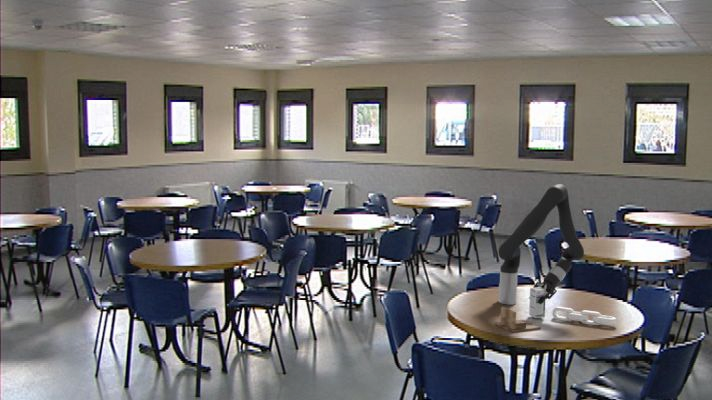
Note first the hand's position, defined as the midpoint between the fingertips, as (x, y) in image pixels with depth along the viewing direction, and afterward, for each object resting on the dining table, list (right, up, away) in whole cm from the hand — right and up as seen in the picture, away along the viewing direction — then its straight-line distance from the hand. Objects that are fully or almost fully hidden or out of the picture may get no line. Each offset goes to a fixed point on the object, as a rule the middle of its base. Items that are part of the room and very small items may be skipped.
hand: (534, 301), depth 348 cm
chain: (+23, -10, -5) cm, 25 cm away
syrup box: (+1, -8, +2) cm, 8 cm away
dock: (-12, -10, -15) cm, 22 cm away
